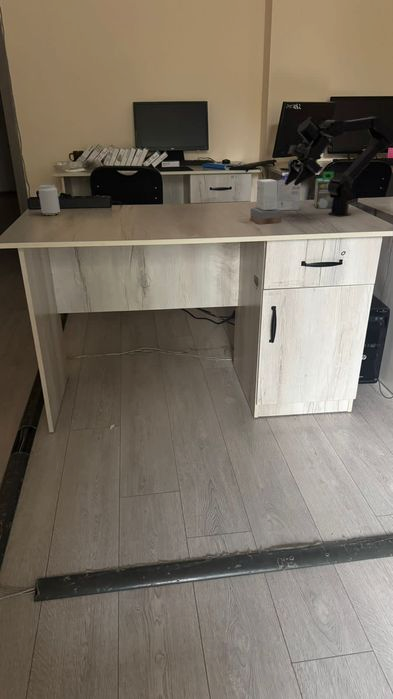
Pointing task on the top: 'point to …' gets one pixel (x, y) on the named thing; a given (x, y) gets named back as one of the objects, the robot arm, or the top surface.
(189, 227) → the top surface
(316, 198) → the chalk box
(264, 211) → the upper block
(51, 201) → the can
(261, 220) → the lower block
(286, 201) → the ink cartridge box
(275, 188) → the small box
